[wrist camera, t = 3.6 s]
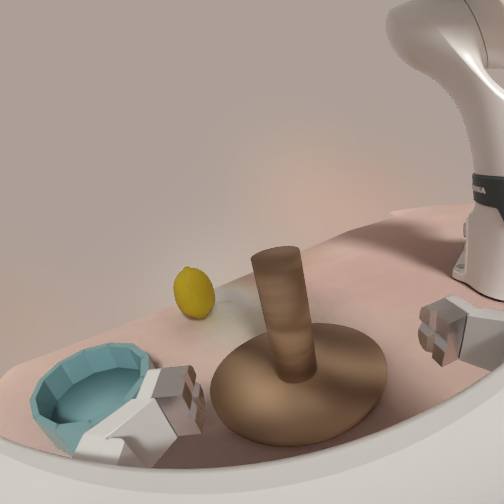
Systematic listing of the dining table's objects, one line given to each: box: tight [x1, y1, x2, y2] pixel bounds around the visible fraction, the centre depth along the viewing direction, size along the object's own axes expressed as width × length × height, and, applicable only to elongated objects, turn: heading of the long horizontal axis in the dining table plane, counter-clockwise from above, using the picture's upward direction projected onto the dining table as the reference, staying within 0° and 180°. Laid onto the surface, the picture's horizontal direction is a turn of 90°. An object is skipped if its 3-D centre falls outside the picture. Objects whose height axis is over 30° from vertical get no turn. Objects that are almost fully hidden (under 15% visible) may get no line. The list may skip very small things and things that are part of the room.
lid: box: [210, 246, 387, 447], centre depth 22 cm, size 16×16×12 cm
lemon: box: [174, 267, 215, 319], centre depth 38 cm, size 6×6×8 cm
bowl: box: [30, 343, 155, 456], centre depth 22 cm, size 14×14×4 cm
